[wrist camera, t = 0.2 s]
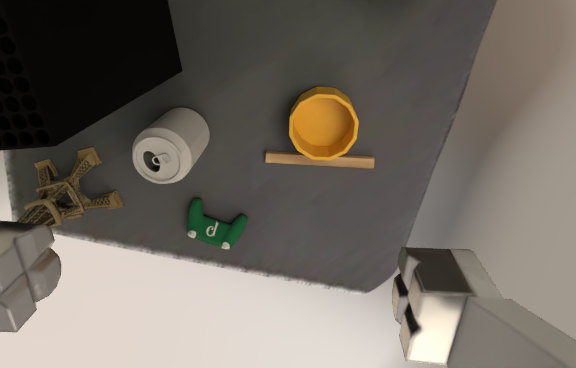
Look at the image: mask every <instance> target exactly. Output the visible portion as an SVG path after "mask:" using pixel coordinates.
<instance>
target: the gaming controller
mask: <svg viewBox="0 0 576 368" xmlns="http://www.w3.org/2000/svg"><path fill="white" fill-rule="evenodd" d="M247 219H248V218H247V216H245V215H243V214H241V215H240V216H239V217H237V219H236V220H235V221H234V222H233V223H232V224H231V225H228V224H226V223H223V222H220V221H217V220H215V219H212V218H209V217H206V216H204V215H203V204H202V199H198V198H194V200H193V201H192V204H191V206H190V209H189V213H188V219H187V234H188V235H189V236H190V237H192V238H197V239H198V240H201V241H203V242H206V243H208V244H212V245H215V246H219V247H222V248H223V249H230V248H231V247H232V246H233V245H234V244H235V243H236V242H237V240H238V239H239V237H240V236H241V234H242V232H243V230H244V228H245V226H246V223H247Z"/></svg>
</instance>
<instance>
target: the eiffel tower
mask: <svg viewBox="0 0 576 368" xmlns="http://www.w3.org/2000/svg"><path fill="white" fill-rule="evenodd" d="M77 152H78V157H77V160H76V162H75V165H74V168H73V170H72V173H71V176H69V177H66V178H63V179H61V180H58V181H54V176H57V175H59V173H58V171H57V169H56V168H55V166H54V164H53V163H52V161H51V159H47V160H43V161H40V162H36V163H34V164H35V166H36V168H37V169H38V170H37V172H38V178H39V183H40V188H39V189H36V191H37V192H38V195H37V197H36V199H35V200H34V202H31V203H28V204H26V205H25V207H24V208H25V209H26V210H27V211H26V212H25V213H24V214H23V215H22V216H21V218H20V219H19V220H18V221H17V222H22V223H34V224H45V225H46V226H48V227H51V226H57V225H60V224H62V223H63V222H62V219H64V218H66V217H67V219H72V218H76V217H81V216H83V214H82V213H84V211H85V209H91V208H104V209H106V208H108V209H114V208H118V207H122V206H124V203H123V202H122V200H121V198H120V196H119V194H118V192H117V191H113V192H109V193H105V194H102V195H101V196H100V197H101V198H95V199H87V198H86V197H85V196H84V195H83V193H82V192H81V190H80V186H79V181H78V179H80V178H81V177H82V176H83V175H84V174H85V173H86V172H87V171H88V170H89V169H90V168H91V167H93V166H95V165H98V164H101V163H102V161H101V160H100V158H99V156H98V154H97V152H96V150H95V148H94V147H90V148H87V149H83V150H80V151H77ZM66 192H68V194H69V196H70V197H71V199H72V201H73V202H70V203H66V204H65V203H63V202H61V201H60V198H61V197H62V196H63V195H64V194H65V193H66ZM48 209H49V211H50V212H51V213H49V214H48V213H47V210H48Z"/></svg>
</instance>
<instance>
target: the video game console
mask: <svg viewBox="0 0 576 368" xmlns="http://www.w3.org/2000/svg"><path fill="white" fill-rule="evenodd" d="M181 71H182V68H181V63H180V58H179V53H178V49H177V44H176V39H175V34H174V29H173V25H172V20H171V15H170V10H169V6H168V1H167V0H0V150H12V149H25V148H38V147H51V146H57V145H58V144H60V143H62V142H63V141H65V140H67V139H68V138H70V137H72V136H73V135H75V134H77V133H79V132H80V131H82V130H84V129H85V128H87V127H89V126H90V125H92V124H94V123H95V122H97V121H99V120H100V119H102V118H104V117H105V116H107V115H109V114H111V113H112V112H114V111H116V110H117V109H119V108H121V107H122V106H124V105H126V104H127V103H129V102H131V101H132V100H134V99H136V98H137V97H139V96H141V95H143V94H144V93H146V92H148V91H149V90H151V89H153V88H154V87H156V86H158V85H159V84H161V83H163V82H164V81H166V80H168V79H169V78H171V77H173V76H175V75H176V74H178V73H180V72H181Z"/></svg>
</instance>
